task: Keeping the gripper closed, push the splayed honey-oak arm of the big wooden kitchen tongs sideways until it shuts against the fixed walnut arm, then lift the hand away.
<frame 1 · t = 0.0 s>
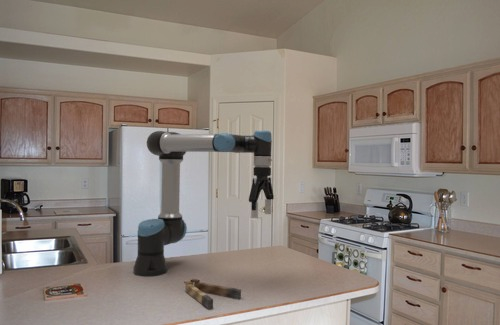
hand: (261, 216, 172), 28 cm above the counter, fingers open, 13 cm apart
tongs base: (189, 289, 158), on the counter
tong arm: (197, 293, 148), point 2 cm above the counter, hinge at 32.0°
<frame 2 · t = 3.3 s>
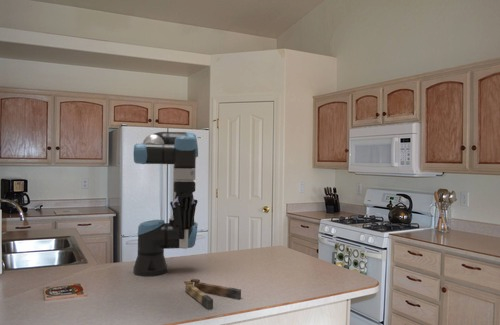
hand: (183, 248, 140), 21 cm above the counter, fingers closed
nothing on the counter moved.
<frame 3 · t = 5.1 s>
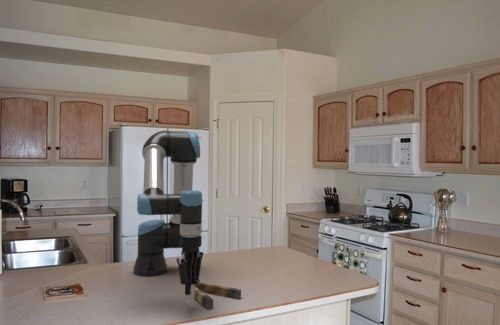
hand: (189, 303, 138), 2 cm above the counter, fingers closed
nothing on the counter moved.
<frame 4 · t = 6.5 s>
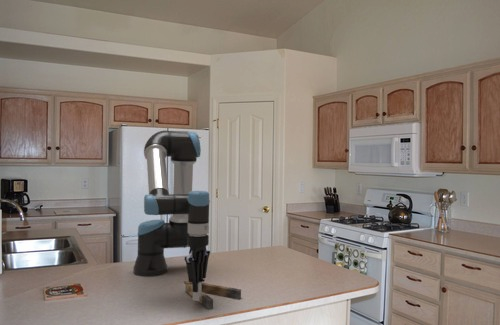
hand: (197, 300, 143), 1 cm above the counter, fingers closed
tong arm: (197, 293, 148), point 2 cm above the counter, hinge at 32.0°, touching gripper
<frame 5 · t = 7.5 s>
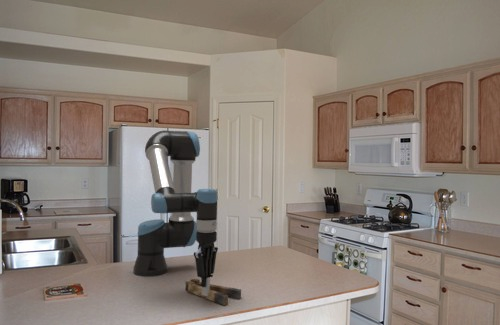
hand: (205, 294, 147), 2 cm above the counter, fingers closed
tong arm: (205, 292, 150), point 2 cm above the counter, hinge at 15.2°, touching gripper
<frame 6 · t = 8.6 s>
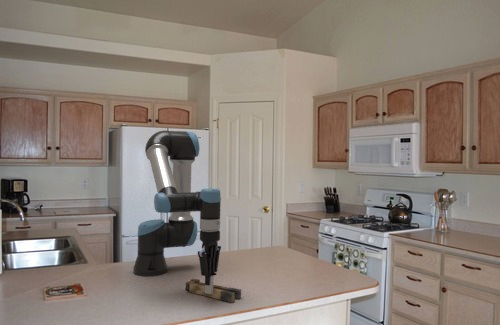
hand: (209, 293, 149), 2 cm above the counter, fingers closed
tong arm: (209, 290, 151), point 2 cm above the counter, hinge at 5.2°, touching gripper
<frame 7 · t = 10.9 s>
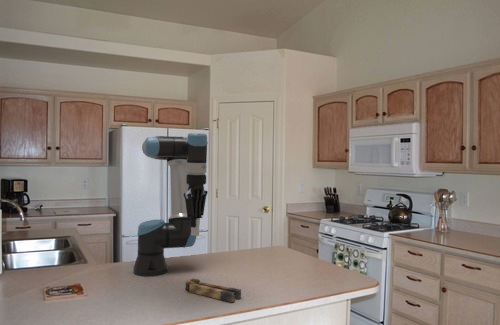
hand: (195, 235, 153), 23 cm above the counter, fingers closed
tong arm: (209, 290, 151), point 2 cm above the counter, hinge at 5.2°
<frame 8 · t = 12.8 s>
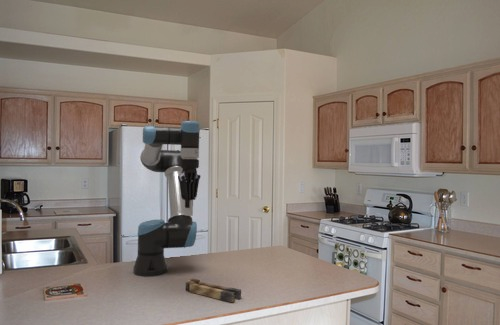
hand: (188, 215, 165), 28 cm above the counter, fingers closed
nothing on the counter moved.
at the end: tong arm at +5° (first picture: +32°) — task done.
